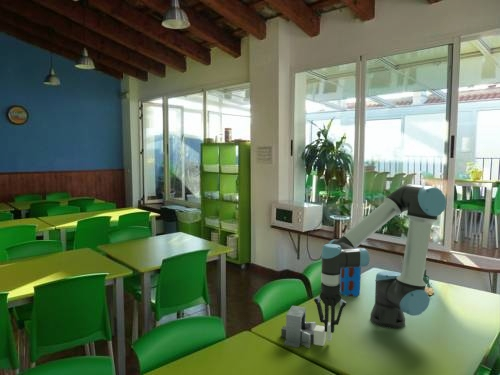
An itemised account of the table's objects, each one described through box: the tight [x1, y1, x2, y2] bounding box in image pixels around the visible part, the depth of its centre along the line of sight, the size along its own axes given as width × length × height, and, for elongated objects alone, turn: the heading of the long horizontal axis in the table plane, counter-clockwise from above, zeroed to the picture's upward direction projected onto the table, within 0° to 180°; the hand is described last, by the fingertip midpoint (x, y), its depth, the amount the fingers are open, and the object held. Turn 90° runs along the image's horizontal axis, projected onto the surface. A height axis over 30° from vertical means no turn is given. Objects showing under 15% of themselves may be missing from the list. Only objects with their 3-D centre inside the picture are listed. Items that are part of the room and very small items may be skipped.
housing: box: [283, 305, 317, 349], centre depth 155 cm, size 10×15×12 cm
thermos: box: [339, 267, 362, 297], centre depth 207 cm, size 11×11×25 cm
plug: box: [280, 324, 327, 347], centre depth 155 cm, size 18×5×6 cm, turn 69°
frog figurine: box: [423, 268, 435, 296], centre depth 208 cm, size 10×18×15 cm, turn 121°
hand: (329, 339), depth 151 cm, fingers closed
